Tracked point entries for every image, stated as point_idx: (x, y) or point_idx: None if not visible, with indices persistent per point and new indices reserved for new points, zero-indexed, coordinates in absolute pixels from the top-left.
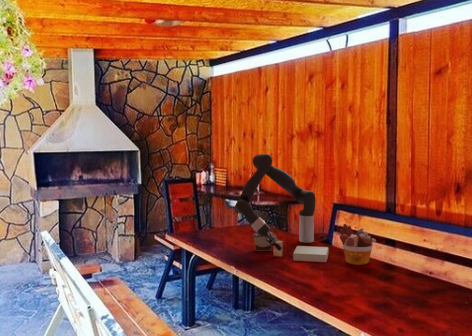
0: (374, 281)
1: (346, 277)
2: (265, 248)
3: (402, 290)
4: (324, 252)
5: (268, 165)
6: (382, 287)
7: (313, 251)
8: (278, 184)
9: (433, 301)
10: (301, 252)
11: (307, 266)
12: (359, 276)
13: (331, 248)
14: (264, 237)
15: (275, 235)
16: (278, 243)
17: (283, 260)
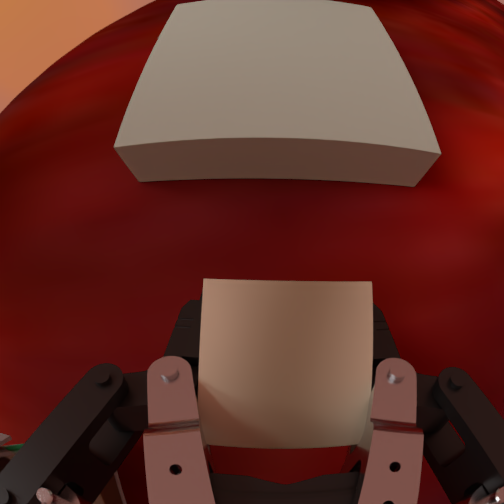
0: (474, 14)
1: (494, 45)
2: (108, 485)
3: (484, 7)
4: (316, 4)
5: None
6: (495, 21)
7: (313, 34)
8: None
9: (494, 4)
10: (385, 92)
11: (481, 116)
12: (464, 19)
13: (71, 59)
14: None
15: (34, 439)
16: (368, 340)
17: (444, 265)
